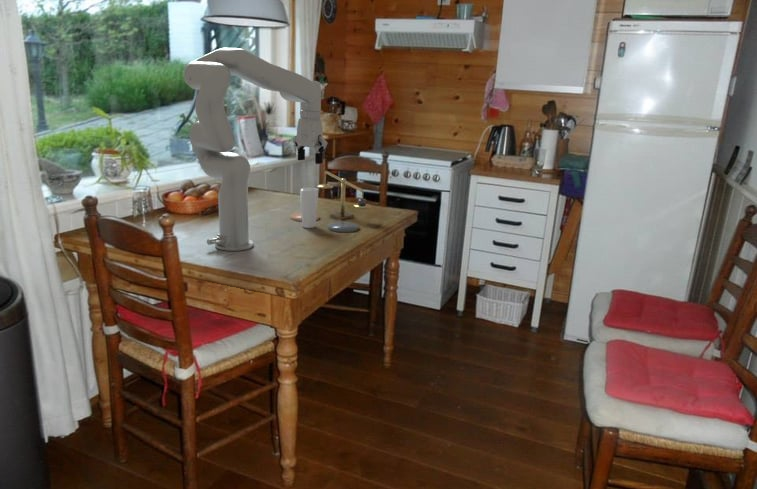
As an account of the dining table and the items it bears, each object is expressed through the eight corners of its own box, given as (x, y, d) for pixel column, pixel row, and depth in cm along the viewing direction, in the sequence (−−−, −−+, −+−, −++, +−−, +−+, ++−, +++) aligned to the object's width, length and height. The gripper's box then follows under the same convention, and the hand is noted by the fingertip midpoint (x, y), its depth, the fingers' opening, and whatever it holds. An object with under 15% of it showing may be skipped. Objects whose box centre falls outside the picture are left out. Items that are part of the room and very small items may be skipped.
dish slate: (343, 234, 209) (343, 231, 209) (321, 227, 216) (321, 225, 216) (364, 228, 218) (364, 226, 218) (342, 222, 225) (342, 220, 225)
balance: (360, 226, 222) (362, 181, 216) (312, 212, 239) (312, 170, 234) (374, 222, 227) (376, 179, 222) (325, 209, 245) (326, 168, 240)
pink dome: (303, 223, 221) (303, 220, 221) (284, 217, 228) (284, 215, 228) (325, 218, 230) (325, 216, 230) (305, 212, 237) (305, 210, 237)
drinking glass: (314, 229, 213) (314, 191, 208) (297, 228, 214) (297, 190, 210) (319, 225, 219) (320, 188, 215) (303, 223, 220) (303, 186, 216)
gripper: (287, 113, 207) (287, 159, 212) (319, 118, 196) (318, 166, 201) (302, 113, 212) (302, 157, 217) (334, 117, 202) (333, 164, 207)
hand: (309, 161), depth 209 cm, fingers open, 9 cm apart
